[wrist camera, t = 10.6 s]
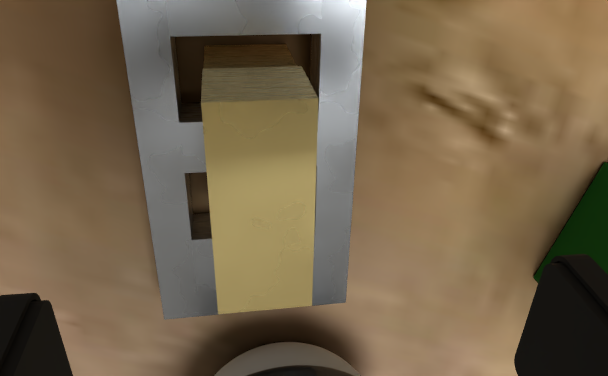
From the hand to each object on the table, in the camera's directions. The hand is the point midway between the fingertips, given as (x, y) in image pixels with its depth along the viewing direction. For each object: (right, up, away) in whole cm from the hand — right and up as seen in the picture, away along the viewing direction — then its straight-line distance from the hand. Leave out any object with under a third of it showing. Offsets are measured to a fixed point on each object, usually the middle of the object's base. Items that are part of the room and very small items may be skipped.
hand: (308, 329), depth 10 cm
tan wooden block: (-2, +5, +11) cm, 12 cm away
